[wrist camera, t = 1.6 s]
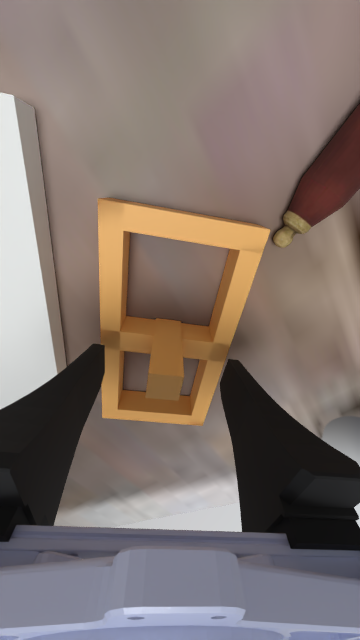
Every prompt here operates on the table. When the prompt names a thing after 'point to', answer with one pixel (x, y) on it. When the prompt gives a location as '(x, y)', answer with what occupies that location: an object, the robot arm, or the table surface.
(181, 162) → the table surface
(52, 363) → the board
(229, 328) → the orange link
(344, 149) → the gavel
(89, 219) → the table surface
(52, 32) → the table surface
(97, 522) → the table surface
